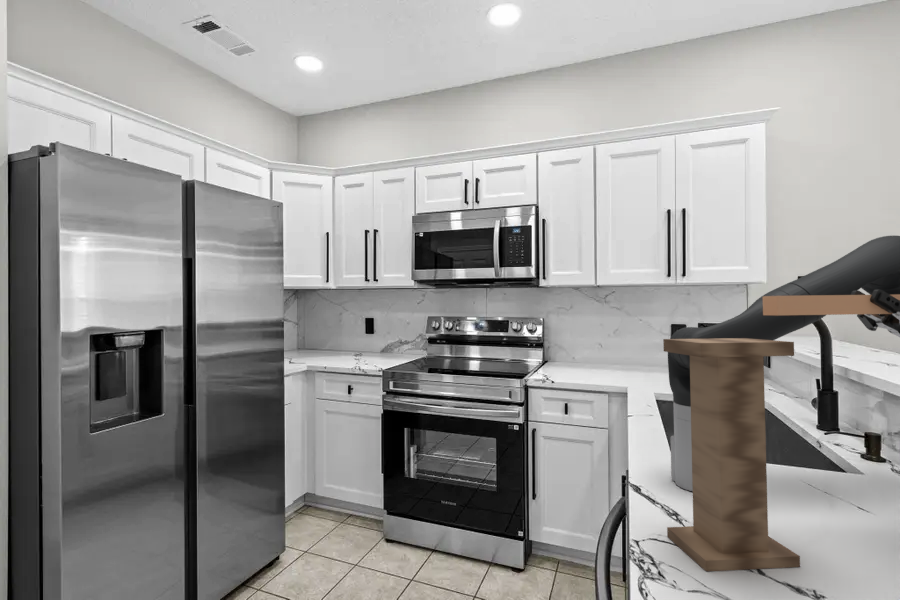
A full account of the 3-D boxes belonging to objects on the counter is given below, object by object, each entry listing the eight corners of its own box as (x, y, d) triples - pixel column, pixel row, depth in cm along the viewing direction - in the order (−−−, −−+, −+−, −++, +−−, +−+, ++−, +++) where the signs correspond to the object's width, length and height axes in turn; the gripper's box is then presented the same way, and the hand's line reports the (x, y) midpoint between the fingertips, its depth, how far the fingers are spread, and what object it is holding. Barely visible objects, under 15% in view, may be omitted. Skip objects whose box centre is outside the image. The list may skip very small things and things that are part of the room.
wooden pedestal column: (749, 533, 75) (744, 338, 76) (800, 566, 65) (793, 341, 66) (667, 536, 74) (663, 339, 75) (706, 571, 64) (700, 343, 65)
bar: (891, 313, 74) (891, 295, 74) (911, 313, 71) (910, 294, 71) (763, 315, 73) (762, 296, 73) (777, 315, 70) (777, 295, 70)
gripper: (914, 326, 80) (833, 277, 80) (1019, 329, 66) (921, 270, 66) (896, 363, 80) (813, 315, 79) (997, 374, 66) (898, 316, 65)
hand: (863, 295), depth 72 cm, fingers closed on bar, 3 cm apart
